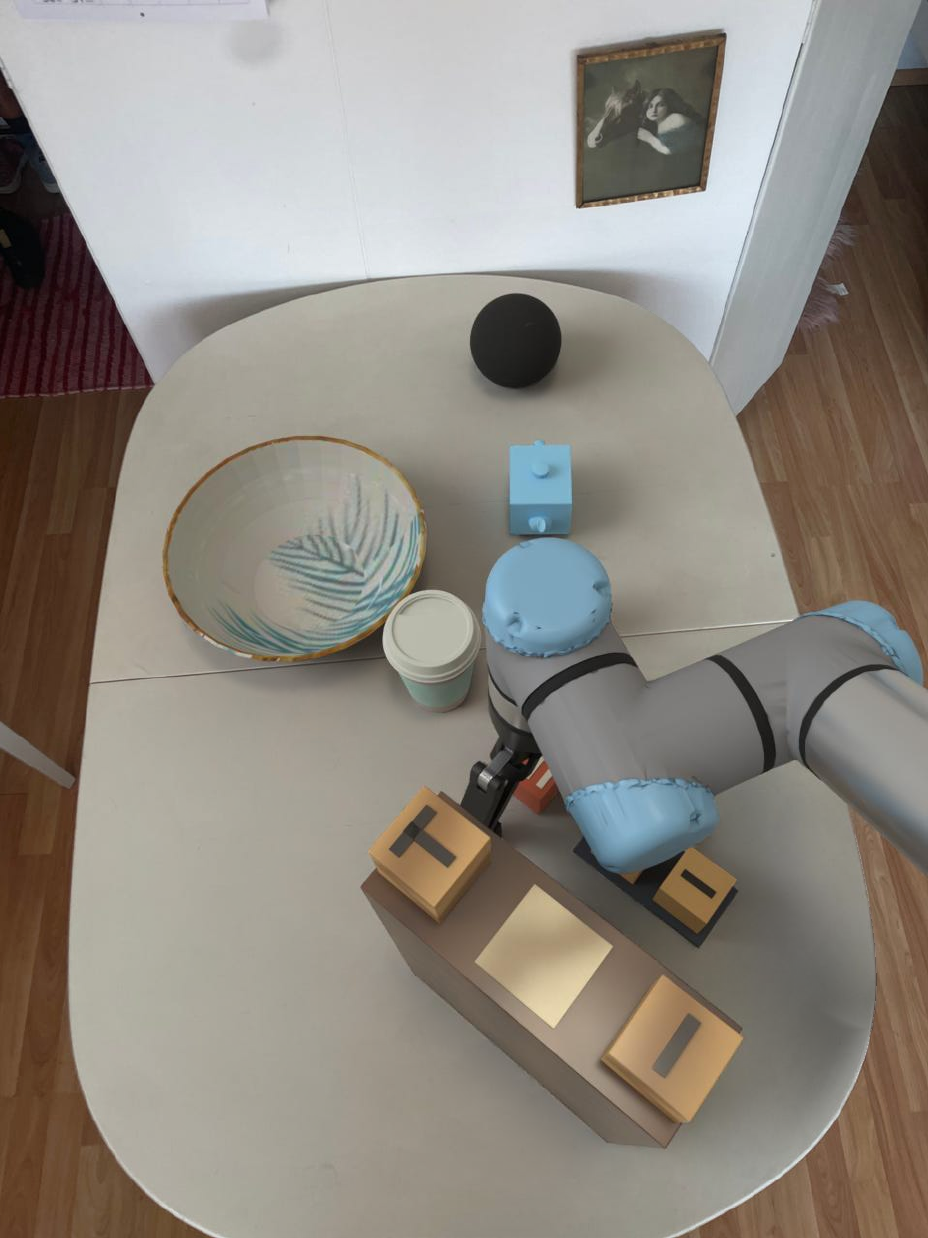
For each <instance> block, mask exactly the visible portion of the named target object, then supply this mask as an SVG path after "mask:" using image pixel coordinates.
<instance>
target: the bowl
mask: <svg viewBox="0 0 928 1238" xmlns="http://www.w3.org/2000/svg"><path fill="white" fill-rule="evenodd" d="M427 533H428V530H427V523H426V518H425V512H424V509H423V506H422V503H421V502H420V500H419V497H418V495H417V493H416V489H415V488H414V487H413V486H412V484H411V483H410V482H409V480H408V479H407V477H406V476H405V475H404V474H403V472H402V471H401V470H399V468H398V467H396V466H395V465H394V464H392V462H391V461H389V460H388V459H387V458H386V457H384V456H383V455H381V454H378V453H377V452H376V451H373V450H372V449H370V448H369V447H366V446H363V445H361V444H358V443H355V442H351V441H349V440H347V439H342V438H338V437H337V438H336V437H331V436H324V435H294V436H287V437H281V438H275V439H270V440H266V441H263V442H261V443H257V444H254V445H251V446H248V447H246V448H244V449H242V450H240V451H238V452H236V453H234V454H232V455H230V456H228V457H226V458H225V459H223V460H222V461H221V462H219V463H217V464H216V465H215V466H213V467H212V468H211V469H210V470H208V471H207V472H205V474H203V476H201V478H200V479H198V481H196V483H195V484H194V485H192V487H191V488H190V489H189V490H188V491H187V492H186V494H185V495H184V497H183V498H182V500H181V501H180V503H179V504H178V506H177V507H176V509H175V511H174V513H173V515H172V518H171V520H170V522H169V525H168V527H167V529H166V534H165V538H164V543H163V547H162V575H163V579H164V583H165V586H166V590H167V594H168V597H169V599H170V600H171V602H172V604H173V606H174V608H175V610H176V611H177V613H178V615H179V616H180V617H181V618H182V620H183V621H184V622H185V623H186V624H187V625H188V626H189V627H190V628H191V630H193V631H194V633H196V634H197V635H199V637H201V638H203V639H204V640H206V641H207V642H209V643H210V644H211V645H213V646H215V647H217V648H219V649H222V650H223V651H226V652H229V653H231V654H233V655H235V656H238V657H242V658H248V659H253V660H258V661H262V662H287V663H288V662H289V663H291V662H293V663H294V662H301V661H308V660H313V659H320V658H323V657H327V656H329V655H332V654H335V653H337V652H340V651H343V650H346V649H348V648H349V647H351V646H353V645H355V644H357V643H359V642H360V641H362V640H365V639H366V638H367V637H369V636H370V635H371V634H373V633H374V632H376V631H377V629H379V628H380V627H381V626H382V625H384V624H385V623H386V621H387V619H388V617H389V615H390V614H391V612H392V611H393V609H394V608H395V607H396V605H397V604H398V603H399V602H400V601H402V600H403V599H404V598H406V597H407V596H409V595H410V593H411V592H412V590H413V588H414V586H415V584H416V582H417V580H418V579H419V577H420V575H421V571H422V567H423V563H424V560H425V557H426V550H427Z"/></svg>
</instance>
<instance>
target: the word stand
mask: <svg viewBox="0 0 928 1238" xmlns="http://www.w3.org/2000/svg"><path fill="white" fill-rule="evenodd" d="M367 852H368V854H369V856H370V858H371V861H372V862H373V864H374V866H375V868H374V869H373V871H372V872H371V873H370V874H369V875H368V876H367V877H366V879H365V880H364V881H363V882H362V883H361V885H360V886H359V888H360V890H361V891H362V893H363V895H364V896H365V899H366V900H367V901H368V903H369V905H370V906H371V908H372V909H373V911H374V912H375V914H376V916H377V917H378V919H379V921H380V923H381V924H382V925H383V927H384V929H385V930H386V932H387V934H388V935H389V937H390V938H391V940H392V942H393V943H394V944H395V946H396V948H397V950H398V951H399V953H400V955H401V956H402V958H403V960H404V961H405V963H406V964H407V966H408V967H409V969H410V971H411V972H412V974H414V975H415V976H416V977H418V979H419V980H420V981H422V983H424V984H425V985H426V986H428V987H429V988H430V990H432V991H433V992H434V993H435V994H437V995H438V996H439V997H440V998H441V999H442V1000H443V1001H445V1003H447V1004H448V1005H449V1006H450V1007H452V1008H453V1009H454V1010H455V1011H456V1012H457V1013H458V1014H460V1015H461V1016H462V1017H463V1018H464V1020H467V1021H468V1022H469V1023H470V1024H471V1025H472V1026H473V1027H474V1028H476V1030H478V1031H479V1033H481V1034H482V1035H483V1036H485V1037H486V1038H487V1039H488V1040H489V1041H490V1042H492V1044H494V1045H495V1046H496V1047H497V1048H498V1049H499V1050H501V1052H503V1054H505V1055H506V1056H507V1057H508V1058H509V1059H511V1061H513V1062H514V1063H515V1064H517V1065H518V1067H520V1068H521V1069H522V1070H523V1071H525V1072H526V1073H527V1075H529V1076H530V1077H532V1079H534V1080H535V1081H536V1082H537V1083H538V1084H539V1085H540V1086H542V1087H543V1088H544V1089H546V1091H547V1092H548V1093H550V1094H551V1096H553V1097H554V1098H555V1099H556V1100H558V1101H559V1102H560V1103H561V1104H563V1105H564V1107H566V1108H567V1109H568V1110H569V1111H570V1112H571V1113H573V1114H574V1115H575V1116H576V1117H577V1118H578V1119H580V1120H581V1122H583V1124H585V1125H586V1126H587V1127H589V1128H590V1129H591V1130H592V1131H593V1132H595V1134H597V1135H598V1136H599V1137H600V1138H601V1139H602V1140H603V1141H604V1142H605V1143H607V1144H614V1145H625V1146H634V1147H643V1148H652V1149H663V1150H666V1149H667V1148H668V1146H669V1144H670V1143H671V1142H672V1141H673V1138H674V1137H675V1135H676V1133H677V1132H678V1131H679V1129H680V1128H681V1126H682V1124H683V1123H691V1122H692V1120H693V1119H694V1118H695V1116H696V1114H697V1113H698V1111H699V1110H700V1108H701V1106H702V1105H703V1103H705V1100H706V1099H707V1097H708V1096H709V1094H710V1093H711V1091H712V1089H713V1088H714V1086H715V1085H716V1083H717V1082H718V1080H719V1078H720V1077H721V1075H722V1074H723V1072H724V1071H725V1069H726V1067H727V1066H728V1065H729V1063H730V1061H731V1060H732V1058H733V1056H734V1055H735V1053H736V1052H737V1050H738V1049H739V1047H740V1046H741V1044H742V1043H743V1041H744V1039H745V1038H744V1036H743V1035H741V1033H742V1031H743V1029H744V1028H743V1027H742V1026H741V1025H740V1024H739V1023H738V1022H736V1021H735V1020H734V1019H732V1018H731V1017H730V1016H728V1015H727V1014H726V1013H725V1012H723V1011H722V1010H721V1009H720V1008H719V1007H717V1006H715V1004H713V1003H712V1002H710V1000H708V999H707V998H706V997H704V996H703V995H702V994H700V993H699V991H697V990H696V989H694V988H692V986H690V985H689V984H688V983H686V982H685V981H684V980H683V979H681V978H680V977H679V976H678V975H677V974H675V973H674V972H672V971H671V970H670V969H669V968H668V967H666V966H665V965H664V964H662V963H661V962H660V961H658V959H656V958H655V957H653V956H652V955H651V954H650V953H649V952H647V951H646V950H645V949H644V948H642V947H641V946H640V945H638V944H637V943H636V942H635V941H633V940H631V938H629V937H628V936H627V935H626V934H624V933H623V932H622V931H620V930H619V929H618V928H617V927H616V926H614V924H613V925H612V923H610V922H609V921H607V919H605V918H604V917H603V916H601V914H599V913H598V912H597V911H595V910H594V909H592V908H591V906H589V905H588V904H587V903H585V902H584V901H582V900H581V899H580V898H578V897H577V896H576V895H575V894H573V893H572V892H571V891H569V890H568V889H567V888H566V887H565V886H563V885H562V884H561V883H559V882H558V881H557V880H555V879H554V878H553V877H552V876H551V875H549V874H548V873H547V872H545V871H544V869H542V868H541V867H539V866H538V865H536V863H534V862H533V861H531V860H530V859H529V858H528V857H526V856H525V855H523V853H521V852H520V851H519V850H517V848H515V847H513V846H512V845H511V844H510V843H508V842H507V841H506V840H505V839H503V837H502V838H501V837H500V836H498V835H497V834H496V833H494V832H493V831H492V830H491V829H489V828H488V827H487V826H486V825H484V824H483V823H482V822H480V821H479V820H478V819H477V818H475V817H474V816H473V815H472V814H470V813H469V812H468V811H467V810H465V809H464V808H463V807H461V806H460V803H458V802H457V801H455V800H454V799H453V798H451V797H450V796H449V795H448V794H447V793H446V792H443V791H441V790H440V791H439V792H438V794H436V793H435V792H434V791H432V790H431V789H430V788H428V786H427V785H423V786H422V787H421V788H420V790H419V791H418V792H417V793H416V794H415V795H414V797H413V798H412V799H411V800H410V802H408V804H407V805H405V807H404V808H403V809H402V810H401V812H399V814H398V815H397V816H396V817H395V819H394V820H393V821H392V822H391V824H389V826H388V827H387V828H385V830H384V832H383V833H381V835H380V836H379V837H378V838H377V840H376V841H375V842H374V843H373V844H372V846H371V847H370V848H369V849H368V851H367Z"/></svg>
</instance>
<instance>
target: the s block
mask: <svg viewBox="0 0 928 1238" xmlns="http://www.w3.org/2000/svg"><path fill="white" fill-rule="evenodd" d="M527 761H528V759H527V760H525V761H523V762H522V763H524V764H525V765H526V763H527ZM559 792H560V791H559V789H558V787H557V785H556V782H555V780H554V778H553V776H552V774H551V772H550V770H549V768H548V766H547V763H546V761H545V759H544V757H543V756H542V757H541V758H540V760H539V761H538V763H537V765H536V767H535V769H534V770H533V772H532V774H531V775H530V776H528V777H527V778H526V779H525V780H524V781H520V783H519V785H518V786H517V788H516V790H515V792H514V794H513V795H512V797H514V798H515V799H517V800H518V801H520V802H521V803H522V804H524V805H525V806H526V807H528V808H529V810H532V811H533V813H535V814H537V815H538V816H540V815H541V814H542V813H543V811H544V810H545V809H546V808H547V806H548V805H549V804H550V802H551V801H552V800H553V799H554V798H555V797H556V795H557V794H558V793H559Z"/></svg>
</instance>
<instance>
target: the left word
mask: <svg viewBox="0 0 928 1238" xmlns="http://www.w3.org/2000/svg"><path fill="white" fill-rule="evenodd" d="M572 852H573V853H574V854H575V855H576V856H578V857H579V858H581V859H582V860H583V861H584V862H586V863H587V864H588V865H589V866H591V867H592V868H593V869H595V870H596V871H597V872H599V873H600V874H602V875H603V876H604V877H605V878H607V879H608V880H609V881H610V882H612V883H613V884H614V885H615V886H617V887H618V888H619V889H621V890H622V891H623V892H625V893H626V894H627V895H629V897H631V898H632V899H634V900H635V901H636V902H638V903H639V904H640V905H641V906H642V907H644V908H645V909H647V910H648V911H649V912H651V913H652V914H653V915H654V916H656V917H657V918H659V919H660V920H661V921H662V922H663V923H665V924H666V925H667V926H669V927H670V928H672V929H673V930H674V931H675V932H677V933H678V934H679V935H681V936H682V937H683V938H684V939H686V940H687V941H688V942H690V944H692V945H694V946H695V947H696V948H698V949H700V948H701V947H702V946H703V944H704V942H705V941H706V939H707V938H708V937H709V935H710V933H711V932H712V930H713V929H714V928H715V926H716V925H717V923H718V922H719V920H720V919H721V918H722V916H723V914H724V913H725V911H726V910H727V908H728V907H729V906H730V904H731V903H732V901H733V900H734V898H735V897H736V895H737V894H738V892H739V889H737V888H736V887H735V886H734V885H735V884H736V882H737V878H736V877H734V876H733V875H732V874H730V873H729V872H727V871H726V870H724V869H723V868H722V867H720V866H719V865H718V864H717V863H715V862H714V861H712V860H711V859H709V858H708V857H707V856H705V855H704V854H703V853H702V852H700V851H698V850H697V849H696V848H695V847H694V846H692V847H691V848H689V849H687V850H684V851H682V852H680V853H678V854H677V855H675V856H674V857H672V858H670V859H668V860H666V861H664V862H662V863H659V864H657V865H654V866H652V867H649V868H647V869H644V870H641V871H637V872H633V873H628V874H617V873H613V872H610V871H608V870H606V869H605V868H603V867H602V866H601V865H600V864H599V862H598V861H597V859H596V857H595V855H594V854H593V852H592V850H591V848H590V846H589V845H588V843H587V841H586V839H585V837H584V836H582V838H581V839H580V840H579V842H578V843H577V844H576V846H575V847H574V848H573V850H572Z"/></svg>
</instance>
